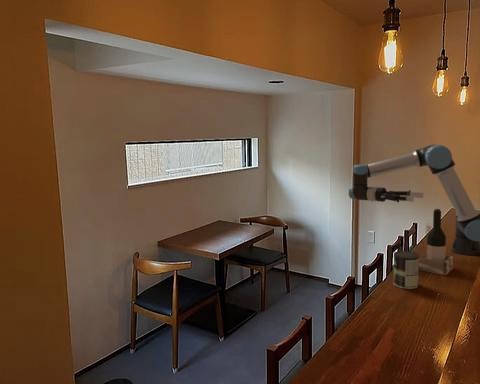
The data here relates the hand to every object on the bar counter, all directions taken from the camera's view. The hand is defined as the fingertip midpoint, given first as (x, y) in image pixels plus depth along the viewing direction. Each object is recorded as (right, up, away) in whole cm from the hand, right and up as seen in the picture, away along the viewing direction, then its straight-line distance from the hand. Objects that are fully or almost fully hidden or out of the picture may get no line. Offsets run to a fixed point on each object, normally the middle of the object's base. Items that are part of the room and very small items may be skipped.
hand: (418, 197), depth 197 cm
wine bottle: (+7, -36, -3) cm, 37 cm away
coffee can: (-16, -39, -22) cm, 47 cm away
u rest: (+7, -35, -3) cm, 36 cm away
